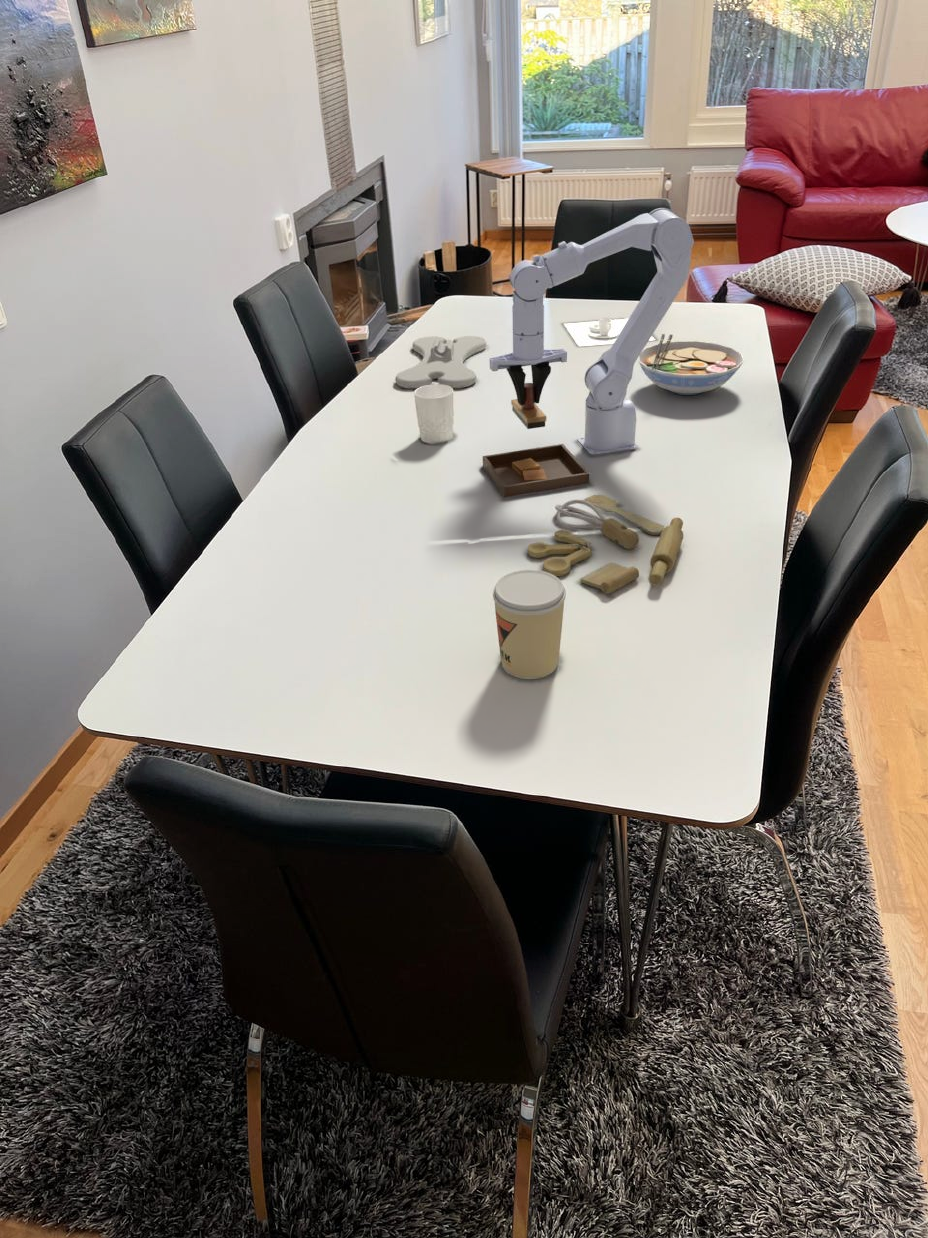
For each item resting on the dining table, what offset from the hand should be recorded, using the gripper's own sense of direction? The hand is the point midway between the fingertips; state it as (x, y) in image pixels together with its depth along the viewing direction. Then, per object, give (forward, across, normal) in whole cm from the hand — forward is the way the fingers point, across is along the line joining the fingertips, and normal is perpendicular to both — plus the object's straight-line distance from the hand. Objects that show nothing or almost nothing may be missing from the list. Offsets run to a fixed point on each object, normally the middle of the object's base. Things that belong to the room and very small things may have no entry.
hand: (528, 402), depth 176 cm
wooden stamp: (+3, 0, 0) cm, 3 cm away
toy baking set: (+10, -1, +39) cm, 40 cm away
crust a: (+10, +3, +9) cm, 13 cm away
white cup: (+10, +16, -13) cm, 23 cm away
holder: (+10, +4, -57) cm, 58 cm away
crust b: (+10, +3, +14) cm, 17 cm away
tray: (+10, +2, +11) cm, 15 cm away
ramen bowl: (+10, -43, -20) cm, 49 cm away
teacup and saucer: (+10, -43, -66) cm, 79 cm away
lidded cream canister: (+10, +21, +66) cm, 70 cm away
